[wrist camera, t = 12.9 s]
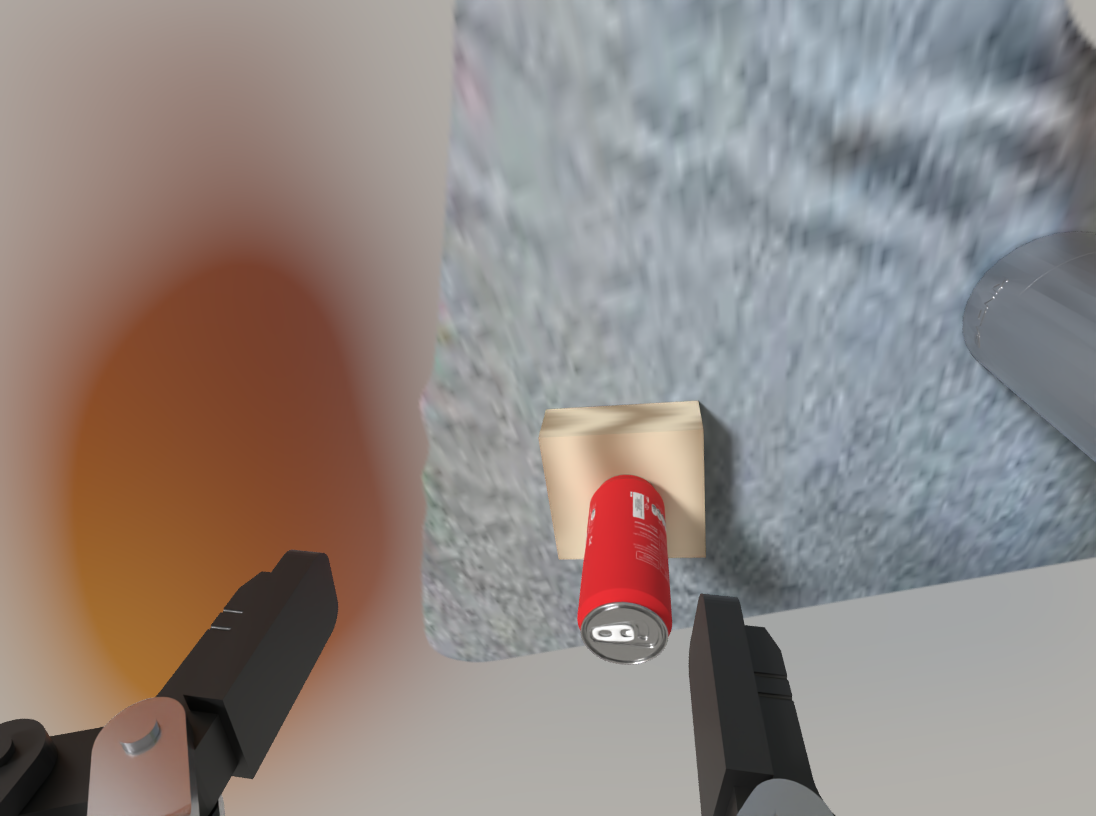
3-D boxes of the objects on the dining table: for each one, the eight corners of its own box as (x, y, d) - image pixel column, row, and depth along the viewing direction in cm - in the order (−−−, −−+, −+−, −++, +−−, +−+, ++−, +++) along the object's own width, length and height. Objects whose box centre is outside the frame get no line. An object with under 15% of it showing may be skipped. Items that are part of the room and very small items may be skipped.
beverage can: (667, 525, 44) (676, 667, 33) (596, 530, 45) (583, 668, 34) (660, 466, 41) (668, 598, 31) (585, 472, 42) (569, 602, 32)
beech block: (698, 400, 43) (703, 429, 40) (700, 522, 48) (705, 557, 45) (546, 409, 45) (538, 437, 42) (564, 525, 50) (558, 559, 47)
